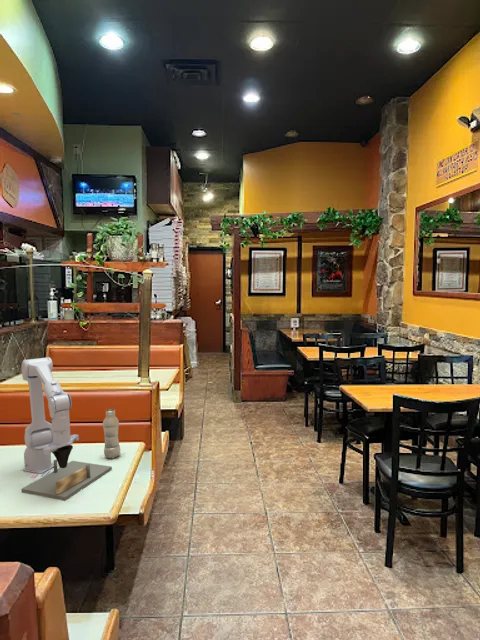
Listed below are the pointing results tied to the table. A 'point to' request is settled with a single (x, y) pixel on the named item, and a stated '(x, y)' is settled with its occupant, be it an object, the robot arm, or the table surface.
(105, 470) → the gate board
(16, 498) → the table surface
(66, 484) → the board
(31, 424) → the robot arm
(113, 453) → the plastic bottle
